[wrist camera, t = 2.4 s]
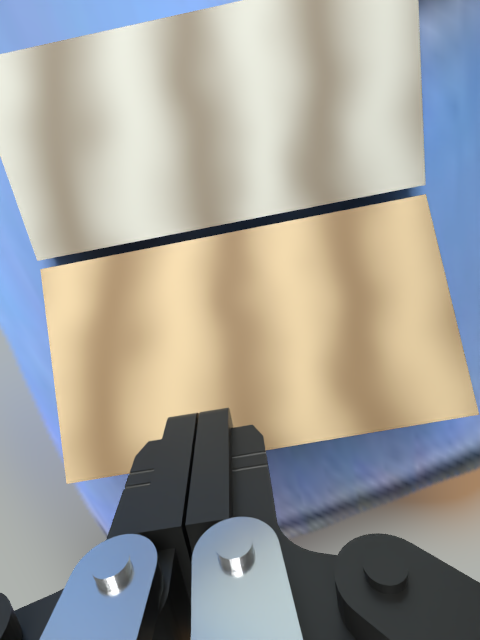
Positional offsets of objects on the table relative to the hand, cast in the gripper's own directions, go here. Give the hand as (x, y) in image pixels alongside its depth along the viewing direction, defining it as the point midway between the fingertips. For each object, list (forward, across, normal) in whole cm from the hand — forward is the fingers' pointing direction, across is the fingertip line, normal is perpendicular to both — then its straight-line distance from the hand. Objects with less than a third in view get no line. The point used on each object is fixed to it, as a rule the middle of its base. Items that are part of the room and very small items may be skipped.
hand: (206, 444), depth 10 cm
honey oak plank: (+14, -1, +3) cm, 14 cm away
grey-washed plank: (+16, -1, -9) cm, 19 cm away
